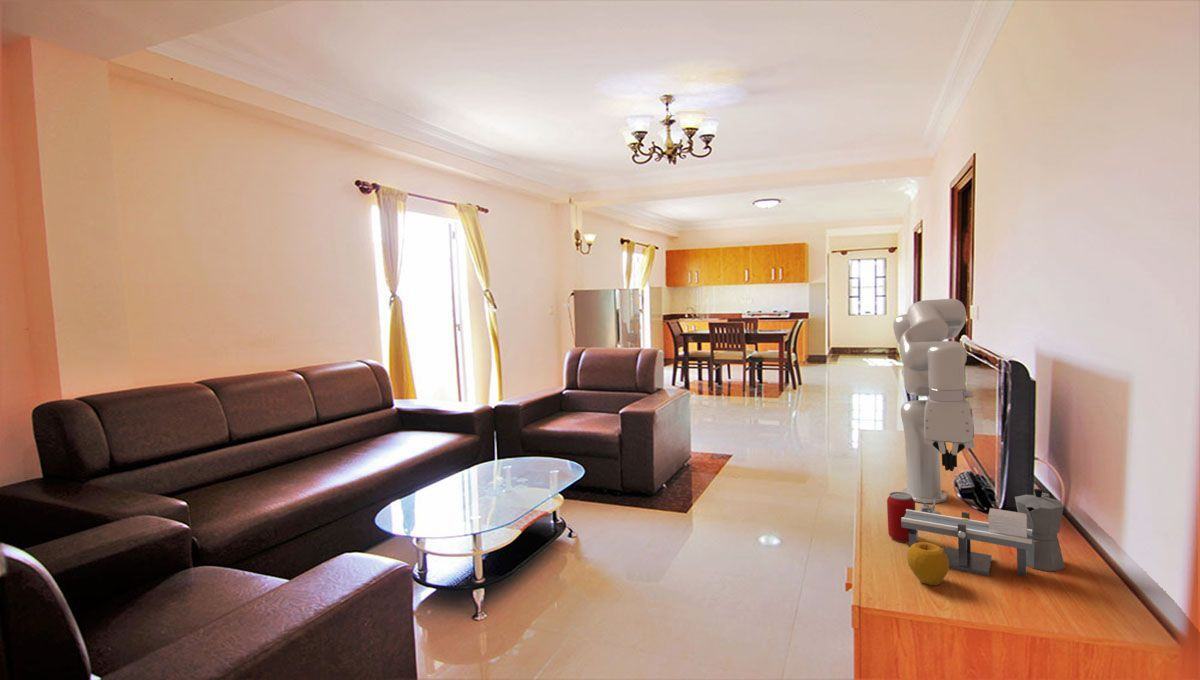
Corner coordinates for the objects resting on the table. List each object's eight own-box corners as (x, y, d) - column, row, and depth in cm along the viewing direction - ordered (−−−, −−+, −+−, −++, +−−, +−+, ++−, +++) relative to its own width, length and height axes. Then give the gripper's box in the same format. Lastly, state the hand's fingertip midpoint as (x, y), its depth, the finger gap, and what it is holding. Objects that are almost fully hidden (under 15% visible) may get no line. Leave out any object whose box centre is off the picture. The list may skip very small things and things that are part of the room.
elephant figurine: (951, 536, 149) (915, 519, 154) (947, 544, 153) (912, 527, 158) (964, 506, 153) (928, 490, 158) (959, 515, 157) (925, 499, 162)
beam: (906, 517, 144) (906, 508, 144) (1032, 539, 128) (1032, 528, 128) (901, 527, 139) (901, 517, 139) (1031, 550, 122) (1031, 540, 122)
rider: (990, 528, 131) (990, 508, 131) (1027, 534, 127) (1027, 513, 127) (988, 535, 128) (988, 514, 128) (1026, 541, 124) (1026, 520, 123)
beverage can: (920, 543, 145) (918, 499, 145) (893, 543, 147) (891, 499, 146) (911, 533, 152) (909, 490, 151) (885, 532, 153) (883, 491, 152)
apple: (901, 572, 131) (899, 536, 131) (939, 572, 130) (938, 536, 130) (915, 590, 123) (914, 552, 123) (956, 591, 122) (955, 552, 121)
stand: (914, 543, 145) (912, 503, 145) (1026, 565, 131) (1025, 520, 130) (906, 560, 137) (904, 517, 136) (1026, 585, 122) (1024, 537, 121)
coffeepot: (1056, 579, 124) (1054, 501, 123) (1006, 565, 131) (1004, 491, 130) (1075, 556, 133) (1074, 484, 132) (1028, 545, 140) (1026, 476, 139)
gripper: (985, 394, 131) (988, 469, 132) (914, 391, 141) (917, 461, 142) (983, 399, 125) (985, 478, 127) (909, 396, 135) (912, 469, 136)
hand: (949, 469), depth 134 cm, fingers closed
